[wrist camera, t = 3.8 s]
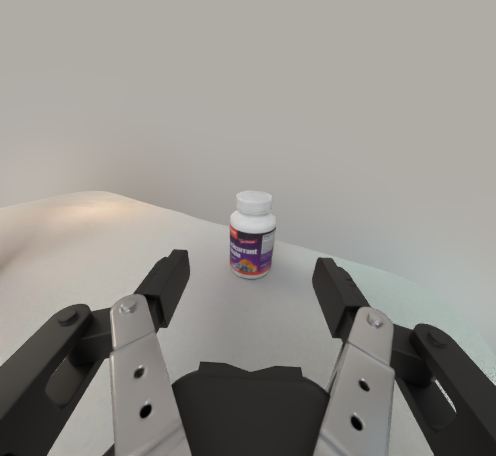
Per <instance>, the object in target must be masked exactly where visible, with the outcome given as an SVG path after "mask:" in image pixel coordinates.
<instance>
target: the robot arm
mask: <svg viewBox="0 0 496 456" xmlns="http://www.w3.org/2000/svg"><path fill="white" fill-rule="evenodd" d="M189 276H190V266H189V258H188V251H187V250H177V249H174V250H173V251H172V252H171V254H170V255H169V257H164V258H162V259H161V260H159V261H158V262H157V263H156V264H155V265H154V267H153V268H152V270H151V271H150V272H149V273H148V275H147V276H146V277H145V279H144V280H143V281H142V283H141V284H140V285H139V287H138V288H137V290H136V291H135V292H134V294H132V295H128V296H126V297H123V298H122V299H120V300H118V301H117V302H116V303H115V304H114V305H113V306H112V307H111V308H106V309H101V310H96V311H91V310H90V308H89V306H87V305H85V304H76V305H72V306H69V307H66V308H64V309H62V310H60V311H59V312H57V313H56V314H54V315H53V316H52V317H51V318H50V319H49V320H48V321H47V322H46V323H45V324H44V325H43V326H42V327H41V328H40V329H39V330H38V331H37V332H36V333H35V334H34V335H33V336H31V337H30V338H29V339H28V340H27V341H26V342H25V343H24V344H23V345H22V346H21V347H20V348H19V349H18V350H17V351H16V352H15V353H14V354H13V355H12V356H11V357H10V358H9V359H8V360H7V361H6V362H5V363H4V364H3V365H2V366H1V367H0V456H47V454H48V452H49V451H50V449H51V447H52V446H53V444H54V442H55V441H56V439H57V437H58V436H59V434H60V432H61V431H62V429H63V427H64V426H65V424H66V422H67V421H68V419H69V417H70V416H71V414H72V412H73V411H74V409H75V407H76V406H77V404H78V402H79V401H80V399H81V397H82V396H83V394H84V392H85V391H86V389H87V387H88V386H89V384H90V382H91V381H92V379H93V377H94V376H95V374H96V372H97V371H98V369H99V367H100V366H101V364H102V362H103V361H104V359H107V358H109V362H110V379H111V395H112V411H113V428H114V444H113V445H112V446H111V447H110V448H109V449H108V450H107V451H106V452H105V453H104V455H103V456H388V451H389V439H390V427H391V415H392V403H393V391H394V379H395V380H396V382H397V384H398V386H399V388H400V390H401V392H402V394H403V396H404V398H405V400H406V402H407V404H408V406H409V407H410V409H411V411H412V413H413V415H414V417H415V419H416V421H417V423H418V425H419V427H420V429H421V431H422V432H423V434H424V436H425V438H426V440H427V442H428V444H429V446H430V448H431V450H432V452H433V454H434V456H496V386H495V385H494V384H493V383H492V382H491V381H490V380H489V378H488V377H487V376H486V375H485V374H484V373H483V372H482V371H481V370H480V368H479V367H478V366H477V365H476V364H475V363H474V362H473V361H472V360H471V359H470V357H469V356H468V355H467V354H466V353H465V352H464V351H463V350H462V349H461V347H460V346H459V345H458V344H457V343H456V342H455V341H454V340H453V339H452V338H451V337H450V336H449V335H448V334H446V333H445V332H443V331H442V330H440V329H438V328H436V327H434V326H431V325H428V324H418V325H416V326H415V328H414V329H413V330H411V329H408V328H405V327H402V326H399V325H395V324H393V323H392V322H391V320H390V319H389V318H388V317H387V316H386V315H385V314H383V313H382V312H380V311H379V310H377V309H374V308H371V306H370V305H369V303H368V302H367V300H366V299H365V297H364V296H363V294H362V293H361V291H360V290H359V288H358V287H357V286H356V284H355V282H354V281H353V279H352V278H351V276H350V275H349V273H348V272H346V271H345V270H344V269H343V268H341V267H337V265H336V263H335V262H334V260H333V259H332V258H318V259H317V262H316V266H315V270H314V274H313V278H312V284H313V288H314V291H315V293H316V296H317V298H318V301H319V304H320V306H321V309H322V312H323V314H324V317H325V319H326V322H327V325H328V327H329V330H330V333H331V335H332V338H341V340H342V342H343V344H342V347H341V349H340V352H339V355H338V358H337V361H336V363H335V366H334V369H333V372H332V375H331V378H330V380H329V383H328V385H327V388H326V390H324V389H323V388H322V387H320V386H319V385H318V384H316V383H315V382H313V381H311V380H310V379H308V378H305V377H303V376H302V371H301V367H286V366H274V367H270V368H266V369H262V370H258V371H254V372H248V371H245V370H243V369H240V368H237V367H234V366H232V365H229V364H226V363H216V362H200V365H199V369H198V370H197V371H194V372H191V373H189V374H186V375H185V376H183V377H181V378H180V379H178V380H177V381H175V382H174V383H173V384H172V385H171V383H170V380H169V376H168V373H167V369H166V366H165V362H164V359H163V356H162V352H161V349H160V345H159V342H158V338H157V335H156V334H157V332H158V330H159V328H167V327H168V325H169V323H170V321H171V318H172V316H173V314H174V312H175V309H176V307H177V305H178V303H179V300H180V298H181V296H182V294H183V291H184V289H185V287H186V285H187V282H188V280H189ZM64 359H65V360H64ZM63 360H64V361H63ZM61 363H62V364H61ZM60 364H61V365H60ZM57 368H58V369H57ZM56 369H57V370H56ZM54 372H55V373H54ZM53 373H54V374H53ZM50 377H51V378H50ZM436 379H437V380H438V382H439V383H440V385H441V386H442V388H443V389H444V390H445V392H446V393H447V395H448V396H449V398H450V399H451V401H452V402H453V404H454V406H455V409H456V412H455V411H454V409H453V408H452V406H451V405H450V403H449V402H448V400H447V399H446V397H445V396H444V394H443V393H442V392H441V390H440V389H439V387H438V386H437V384H436V383H435V380H436Z"/></svg>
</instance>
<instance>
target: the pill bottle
mask: <svg viewBox="0 0 496 456" xmlns="http://www.w3.org/2000/svg"><path fill="white" fill-rule="evenodd" d="M271 207H272V196H271V195H270V194H268V193H265V192H261V191H243V192H239V193H238V194H237V195H236V208H237V210H236V211H235V212H233V214H232V215H231V217H230V267H231V269H232V271H233V272H234V273H235V274H236V275H238V276H240V277H243V278H247V279H256V278H260V277H263V276H264V275H266V274H267V273H268V272H269V270H270V267H271V261H272V253H273V245H274V236H275V229H276V218H275V216H274V215H273V214H272V213H271V212H270V211H271Z"/></svg>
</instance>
